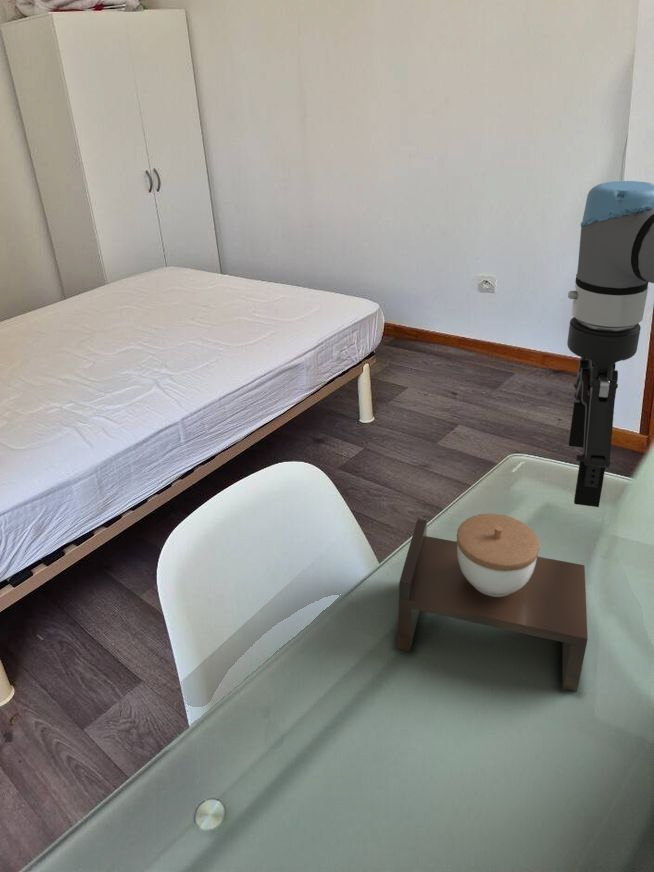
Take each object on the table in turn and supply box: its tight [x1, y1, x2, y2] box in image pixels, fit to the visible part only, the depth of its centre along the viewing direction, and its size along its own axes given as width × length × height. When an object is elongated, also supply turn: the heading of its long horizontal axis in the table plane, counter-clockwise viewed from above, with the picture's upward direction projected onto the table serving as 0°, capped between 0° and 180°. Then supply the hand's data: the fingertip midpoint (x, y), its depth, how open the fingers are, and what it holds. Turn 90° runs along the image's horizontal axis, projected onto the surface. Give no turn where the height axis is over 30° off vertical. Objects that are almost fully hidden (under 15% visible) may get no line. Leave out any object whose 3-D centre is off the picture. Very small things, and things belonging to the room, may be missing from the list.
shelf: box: [396, 518, 589, 693], centre depth 98 cm, size 24×14×13 cm, turn 70°
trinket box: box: [456, 513, 540, 597], centre depth 94 cm, size 11×11×9 cm
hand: (582, 473), depth 89 cm, fingers open, 13 cm apart
